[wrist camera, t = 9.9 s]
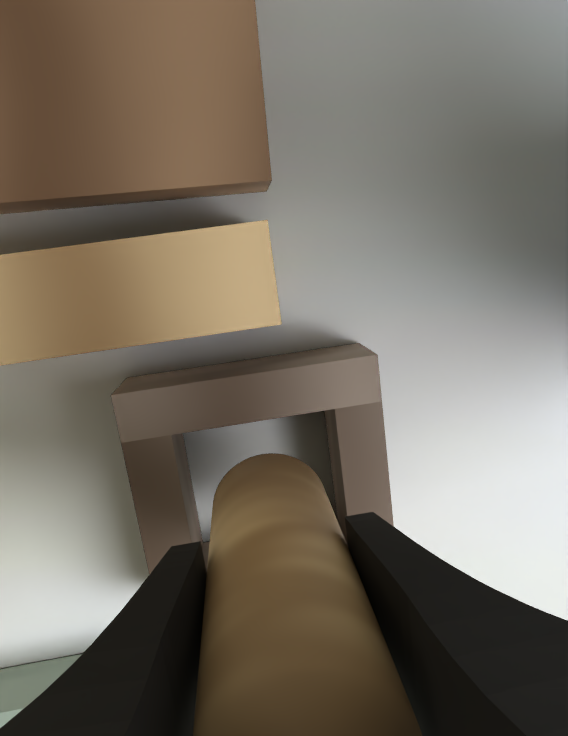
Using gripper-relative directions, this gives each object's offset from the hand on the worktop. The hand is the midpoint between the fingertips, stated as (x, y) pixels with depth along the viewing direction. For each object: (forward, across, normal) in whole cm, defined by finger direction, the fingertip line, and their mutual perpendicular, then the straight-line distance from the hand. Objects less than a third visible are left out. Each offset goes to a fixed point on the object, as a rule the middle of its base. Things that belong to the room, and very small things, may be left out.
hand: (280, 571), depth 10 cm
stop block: (+6, +3, -6) cm, 9 cm away
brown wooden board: (+6, +3, -11) cm, 13 cm away
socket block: (+6, 0, 0) cm, 6 cm away
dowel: (+3, 0, 0) cm, 3 cm away
